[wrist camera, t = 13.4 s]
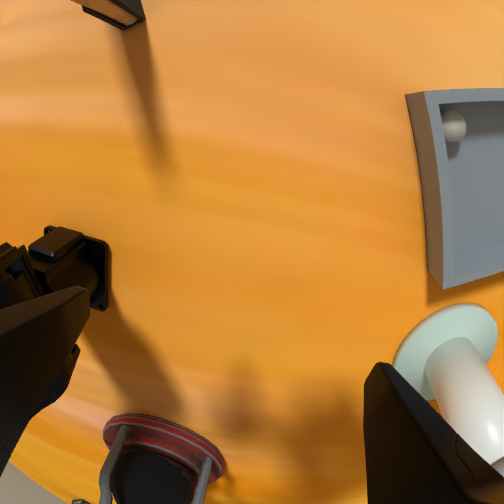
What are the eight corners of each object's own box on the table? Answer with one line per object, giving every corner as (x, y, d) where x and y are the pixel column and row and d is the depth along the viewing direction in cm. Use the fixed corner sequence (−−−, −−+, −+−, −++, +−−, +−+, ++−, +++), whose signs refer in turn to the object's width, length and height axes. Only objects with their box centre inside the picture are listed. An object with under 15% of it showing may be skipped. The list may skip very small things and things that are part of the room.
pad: (455, 395, 26) (457, 402, 25) (372, 389, 26) (373, 397, 25) (510, 312, 22) (515, 318, 21) (428, 291, 22) (432, 298, 21)
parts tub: (427, 270, 21) (443, 289, 18) (404, 94, 16) (423, 91, 14) (539, 237, 19) (559, 250, 16) (531, 90, 14) (555, 91, 11)
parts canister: (437, 388, 24) (480, 508, 12) (412, 365, 23) (460, 505, 11) (481, 353, 22) (541, 468, 10) (461, 325, 21) (535, 457, 9)
